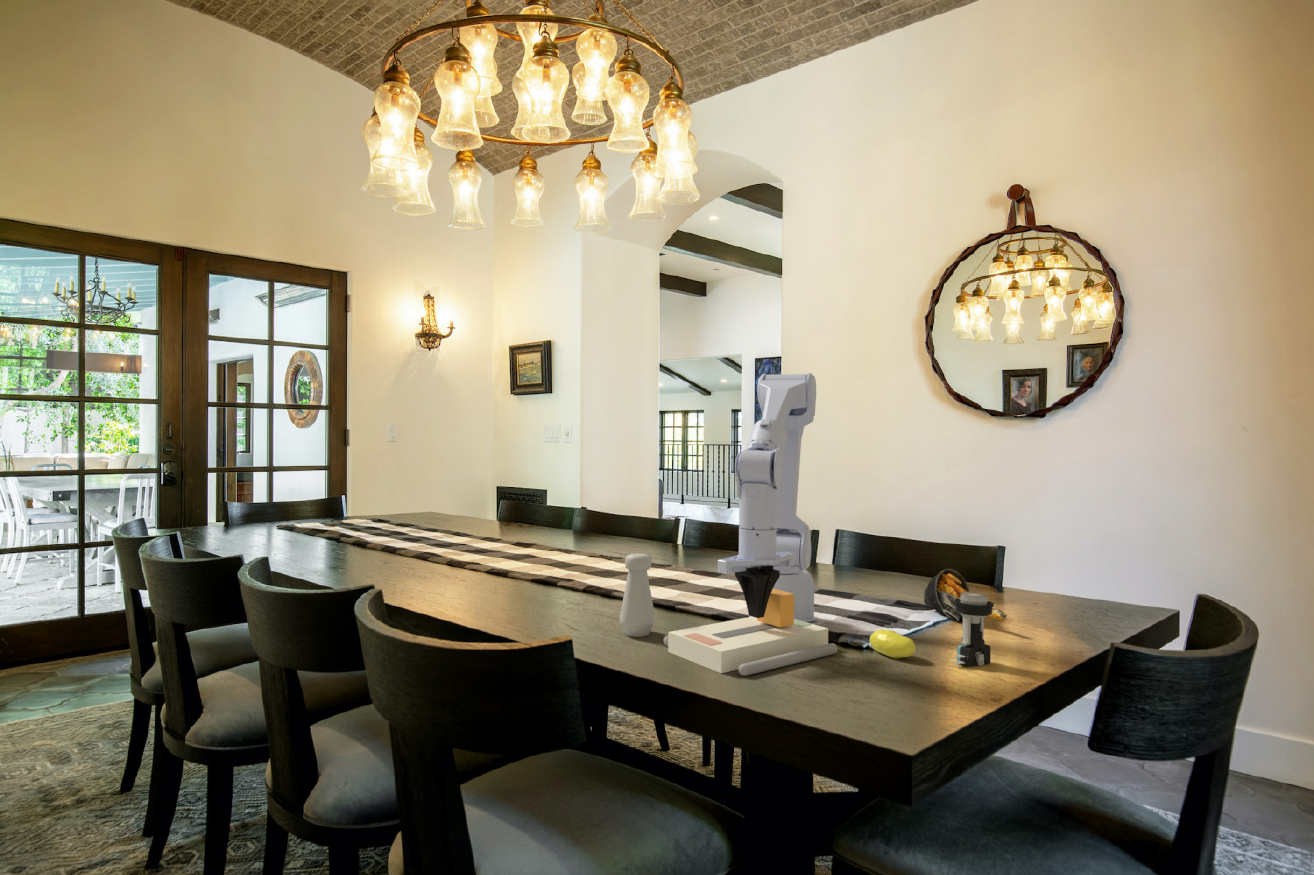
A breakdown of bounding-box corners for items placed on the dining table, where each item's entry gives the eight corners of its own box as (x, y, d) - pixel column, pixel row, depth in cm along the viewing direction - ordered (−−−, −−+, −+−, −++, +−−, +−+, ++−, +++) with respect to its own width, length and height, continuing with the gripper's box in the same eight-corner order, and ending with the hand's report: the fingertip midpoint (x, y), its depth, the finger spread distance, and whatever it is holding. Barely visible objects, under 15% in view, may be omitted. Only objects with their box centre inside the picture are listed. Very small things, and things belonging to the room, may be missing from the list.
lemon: (882, 647, 116) (882, 622, 116) (922, 661, 109) (922, 635, 109) (862, 650, 114) (862, 625, 114) (901, 665, 107) (902, 638, 107)
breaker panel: (772, 630, 125) (772, 612, 125) (827, 647, 115) (828, 627, 115) (668, 651, 112) (668, 631, 112) (720, 673, 102) (721, 650, 102)
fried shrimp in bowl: (947, 581, 145) (1028, 566, 130) (945, 637, 140) (1028, 628, 125) (912, 566, 142) (991, 549, 127) (908, 623, 137) (990, 612, 122)
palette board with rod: (753, 627, 127) (753, 617, 127) (839, 654, 112) (839, 643, 112) (661, 645, 115) (661, 635, 115) (743, 678, 100) (743, 666, 100)
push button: (969, 672, 104) (971, 601, 104) (938, 662, 108) (939, 593, 108) (1000, 666, 107) (1001, 596, 107) (969, 656, 112) (970, 589, 112)
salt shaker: (650, 639, 118) (651, 558, 118) (615, 637, 119) (616, 556, 119) (657, 630, 124) (659, 552, 124) (624, 627, 125) (625, 550, 125)
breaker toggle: (770, 617, 119) (771, 588, 119) (793, 624, 115) (794, 593, 115) (757, 620, 118) (757, 590, 118) (780, 627, 114) (780, 596, 114)
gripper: (740, 534, 106) (739, 628, 106) (809, 527, 115) (808, 615, 115) (708, 528, 112) (707, 618, 112) (776, 523, 121) (775, 606, 121)
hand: (756, 616), depth 114 cm, fingers closed
